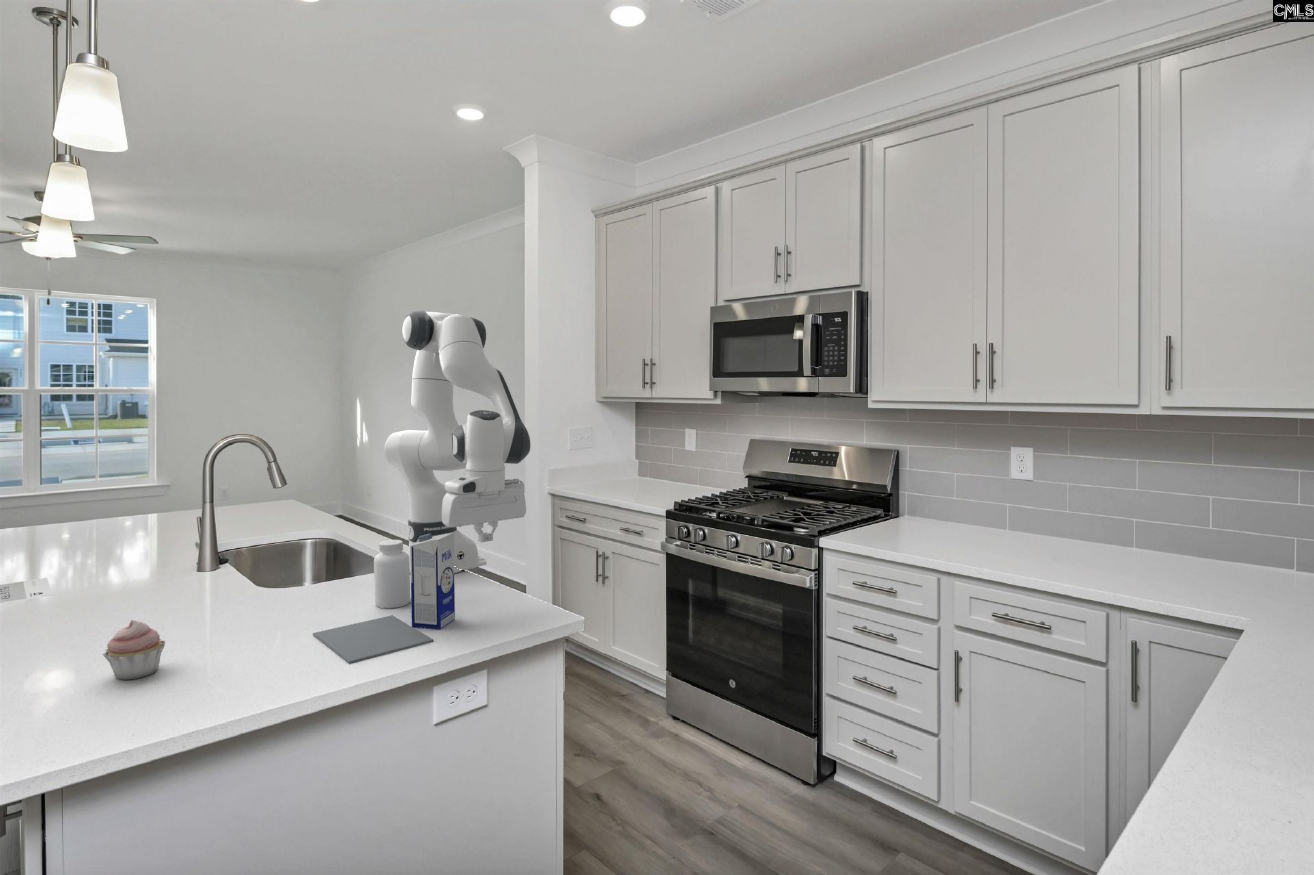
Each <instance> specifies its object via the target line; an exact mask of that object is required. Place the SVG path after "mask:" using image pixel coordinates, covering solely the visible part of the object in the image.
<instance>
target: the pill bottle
mask: <svg viewBox="0 0 1314 875" xmlns="http://www.w3.org/2000/svg"><path fill="white" fill-rule="evenodd" d="M378 550H379V553H378V554H376V555H375V556H374V559H373V576H374V578H373V580H374V604H375V606H376V607H377V608H381V609H395V608H401V607H404V606H406V605H408V604H410V603H411V573H410V560H409V555H408V552H406V551H404V541H403V540H401V539H387V540H382V541H380V542H379V543H378Z"/></svg>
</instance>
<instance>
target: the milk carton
mask: <svg viewBox="0 0 1314 875" xmlns="http://www.w3.org/2000/svg"><path fill="white" fill-rule="evenodd" d="M418 539H419V542H418V543H415V544H413V545H411V546H410V560H411V573H410V605H411V606H410V607H411V610H410V611H411V627H413V628H415V629H416V628H417V629H427V630H437V631H438V630H439V631H440V630H442V629H443V628H445V627H446V626H447V625H449V624H450V623H452V622H453V621H455V619H456V610H455V609H456V605H455V604H456V601H455V596H456V595H455V594H456V593H455V587H456V586H455V584H456V583H455V573H454V533H448V534H447V533H446V534H442V535H439V536H435V537H432V536H431V533H429V534H426V535H423V536H420V537H418Z"/></svg>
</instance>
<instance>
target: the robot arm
mask: <svg viewBox="0 0 1314 875" xmlns="http://www.w3.org/2000/svg"><path fill="white" fill-rule="evenodd" d="M486 329H487V328H486V326H485V324H484V323H483V321H481V320H479V319H476V318H474V317H472V316H471V317H469V316H468V315H465V314H456V313H451V312H435V311H425V310H413V311H410V312H408V314H407V315H406V316H405V318H404V321H403V324H402V338H403V342H404V344H406V346H407V347H408V348H410V349H412V350H416V353H415V358H414V361H413V366H412V367H413V368H412V377H411V379H412V380H411V395H410V396H411V397H410V398H411V399H410V405H411V408H412V410H413V411H414V412H415V413H416V414H417V415H418V416H419V417H421V418H423V419H424V420H425V423H426V427H427V430H419V429H418V430H417V429H413V430H412V429H406V430H401V431H396V432H393V433H391V434H390V435H389V436H388V437H387V439H386V441H385V443H384V449H383V452H384V457H385V458H386V461H387V462H388V464H390V465H391V466H392V467H393V468H394V469H395V470H396V471H397V472H398V473H399V475H400V477H401V479H402V480H403V482H404V485H405V487H406V490H407V494H408V497H407V498H408V505H409V506H408V507H409V519H408V520H407V535H408V537H407V538H408V550H407V554H408V555H409V560H410V546H411V545H413V544H415V543H418V542H419V539H418V537H420V536H423V535H426V534H429V533H431V536H432V537H435V536H439V535H442V534H446V533H447V534H448V533H454V566H456V567H454V574H456V573H460V572H461V571H460V570H459V569H462V570H464V571H467V570H471V569H475V568H478V567H483V566H486V565H487V559H486V558H485V557H483V556H481V555H479V552H478V547H477V544H476V542H475V541H474V540H473V539H472V538H470V537H468V536H467V535H465V534H464V533H462V532H461V531H460V530H458V527H459V528H461V527H464V526H465V527H466V526H473V529H474V531H475V532H476V535H477V541H478V542H479V543H485V542H491V541H494V533H495V531H496V530H497V527H498V526H499V525H498V522H499V521H507V520H513V519H520V518H524V517H525V515H526V513H527V504H526V498H525V497H526V496H525V484H524V481H522V480H520V479H519V478H514V479H506V466H505V464H511V465H512V464H513V465H514V464H515V465H518V464H520V463H521V462H522V461H523V460H525V459H526V457H527V456H528V455H529V453H530V451H531V437H530V434H529V431H528V429H527V428H526V425H525V424H524V423H523V420H522V419H521V416H520V414H519V411H518V408H517V406H516V404H515V402H514V399H513V395H512V393H511V391H510V389H509V387H508V385H507V382H506V379H505V377H504V376H503V373H502V372H501V371H500V370H498V369H497V368H496V367H494V366H493V365H492V364H491V363H490V361H489V360H488V359H487V357H486V355H485V351H484V349H485V345H486V341H487V330H486ZM454 386H455V387H458V388H460V389H462V390H466V391H471V392H473V393H476V394H479V395H481V396H483V397H485V398H487V399H489V400H490V401H491V402H492V404H493V406H494V409H495V411H493V410H486V409H485V410H479V409H478V410H474V411H471V412H469V413H468V414H467V417H466V422H465V423H463V424H460V425H459V423H458V421H457V419H456V416H455V415H456V414H455V411H454ZM464 469H465V472H464V474H461V475H459V476H457V477H455V478H453V479H450V480H448V481H446V482H445V483H444V484H443V483H441V482H440V481H439V480H438V479H437V477H436V476H435V472H434V471H441V472H442V471H443V472H444V471H447V472H451V471H452V472H453V471H458V470H464ZM484 524H487V525H488V529H487V531H486V532H484V531H483V528H484ZM457 568H458V569H457ZM410 574H411V560H410Z"/></svg>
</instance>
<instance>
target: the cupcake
mask: <svg viewBox="0 0 1314 875" xmlns="http://www.w3.org/2000/svg"><path fill="white" fill-rule="evenodd" d="M161 639H162V638H160V633H159V632H158V631H157V630H155V629H154V628H151V627H150V626H148V624H147V623H145V622H142V621H139V620H134V619H131V620H130V622H129V624H128V626H125V627H123V628H121V629H119V630H118V631H117V632H116V633H115V634H114V635H113V637H112V638H111V639H110V640H109V641H108V642H107V646H106V648H107V649H104V651H105V652H104V653H103V654H102V656H103V657H104V658H105V660H107V662H108V663H109V665H110V667H111V670H112V672H113V675H114V677H115V678H116V679H117V680H124V681H125V680H135V679H140V678H144V677H147V676H150V675H153V674H155V672H156V671H157V670H158V669H159V667H160V662H161V656H162V653H163V650H164V649H165V645H166V643H167V641H166V640H161Z"/></svg>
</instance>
